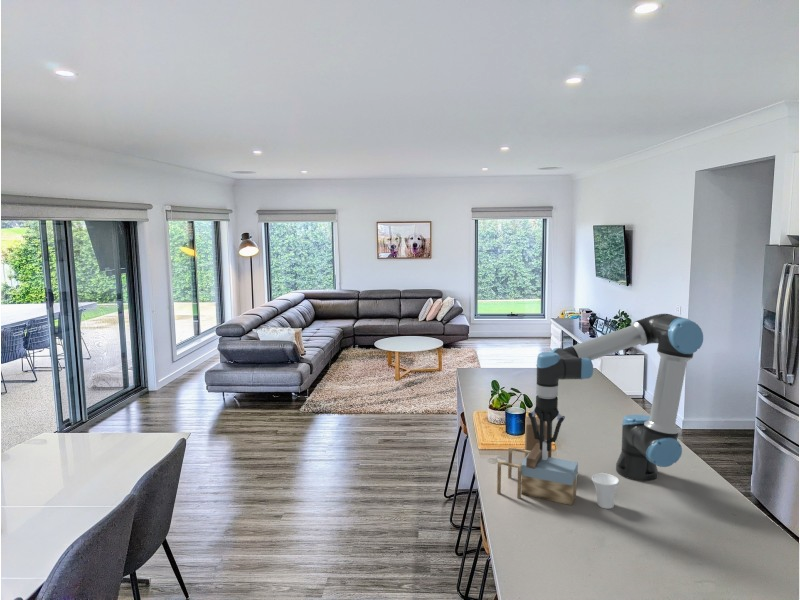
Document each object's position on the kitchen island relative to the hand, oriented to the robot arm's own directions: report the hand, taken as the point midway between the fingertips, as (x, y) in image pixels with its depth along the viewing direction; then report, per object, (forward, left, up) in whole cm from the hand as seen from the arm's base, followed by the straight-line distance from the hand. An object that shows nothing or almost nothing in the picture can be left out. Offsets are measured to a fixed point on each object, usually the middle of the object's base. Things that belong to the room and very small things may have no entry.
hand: (545, 458), depth 196 cm
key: (+3, 0, -1) cm, 4 cm away
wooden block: (+7, -21, -14) cm, 26 cm away
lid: (-2, 0, -6) cm, 6 cm away
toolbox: (+2, 0, -14) cm, 14 cm away
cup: (-21, -2, -14) cm, 25 cm away
